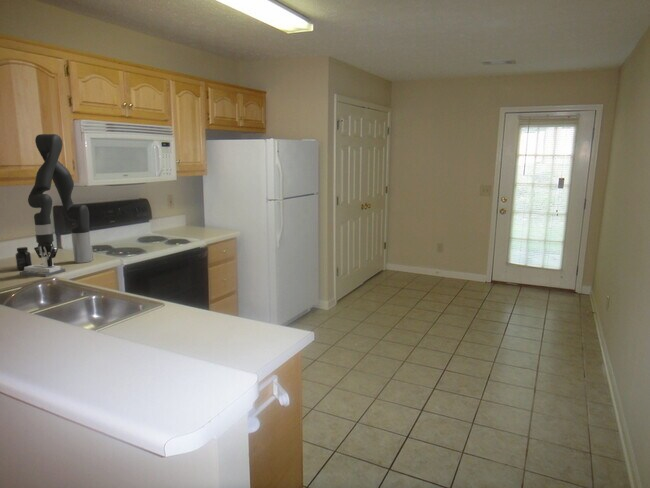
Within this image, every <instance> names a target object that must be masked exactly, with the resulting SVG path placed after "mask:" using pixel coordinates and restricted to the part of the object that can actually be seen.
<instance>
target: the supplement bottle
mask: <svg viewBox="0 0 650 488" xmlns="http://www.w3.org/2000/svg"><path fill="white" fill-rule="evenodd" d="M15 262H16V268H17V270H18V271H25V270H24V267H27V266H31V265H33V263H32V254H31V252H30V251H29V249H28V247H27V246H19V247H17V248H16V253H15Z"/></svg>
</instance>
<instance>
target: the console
mask: <svg viewBox="0 0 650 488" xmlns="http://www.w3.org/2000/svg"><path fill="white" fill-rule="evenodd" d="M65 272H66V268H61V265H53V268H43V264H32V265H31V266H27V267H24V270H21V271H19V276H28V277H29V276H30V277H44V278H46V277H50V276H54V275H57V274H61V273H65Z"/></svg>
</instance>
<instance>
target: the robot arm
mask: <svg viewBox="0 0 650 488" xmlns="http://www.w3.org/2000/svg"><path fill="white" fill-rule="evenodd" d="M34 140H35V146H36V148H37V151H38V152H39V154H40V156H41V157H42V159H43V161H44V162H43V163H42V164H41V166H40V167H39V168H38V170H37V172H36V176H35V181H34V185H33V187H32V189H31V191H30V192H29V195H28V198H27V203H28V205H29V206H30V208H34V209H40V212H36V213H35V214H34V215H33V219H34V232H35V240H36V243H37V246H35V247H34V248H33V249H34V252H35V253H36V254H37V257H38V258H39V259H42V257H46V256H47V259H48V260H47V264H48V266H49V267H50V266H52V265H53V266H54V262H53V263H52V259H54V258H56V256H57V253H58V249H59V248H58V247H55V246H54V244H53V242H54V232H53V227H52V221H51V213H52V209H53V199H52V197H51V196H50V195H49V194H48V193H45V192H47V191H50V190H51V187H52V183H54V184H53V185H54V186H55V188H56V191H57V193H58V196H59V199H60V201H61V204H62V208H63V210H64V213H65V216H66V218H67V219H68V221H74V222H75V221H76V222H78V224H77V225H76V226H73V227H71V228H70V233H71V243H72V253H73V260H74V262H73V263H76V264H81V263H89V262H92V261H93V260H94V252H93V244H92V243H91V237H90V235H91V234H90V225H91V224H90V212H89V211H90V210H89V207H88V206H87V205H86V204H75V203H74V202H73V199H72V193H73V190H74V187H75V186H74V185H75V183H74V180H73V177H72V174H71V172H70V171H69V169H68V168H67V167H65V165H63V164H62V163H61V162H60V161H59V159H60V154H61V152H62V149H63V139H62V138H61V136H60V135H58V134H56V133H55V134H54V133H48V134H47V133H46V134H45V133H44V134H43V133H41V134H37V135H36V136H35V139H34ZM49 256H50V257H49Z"/></svg>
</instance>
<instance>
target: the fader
mask: <svg viewBox="0 0 650 488" xmlns="http://www.w3.org/2000/svg"><path fill="white" fill-rule="evenodd" d="M49 257H50V255H49ZM53 259H54V258H52V263H53V265H52V266H50V267H49V266H48V264H47V260H48V259H47V256H46V257H42V258H41V261H42V265H43V268H53V266H54V261H53Z"/></svg>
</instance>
